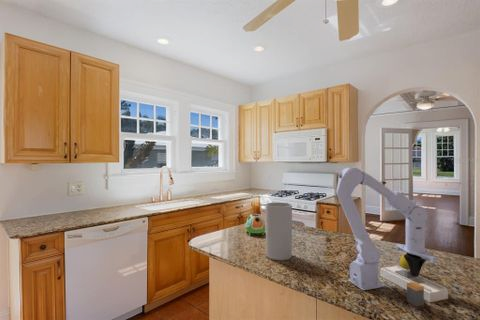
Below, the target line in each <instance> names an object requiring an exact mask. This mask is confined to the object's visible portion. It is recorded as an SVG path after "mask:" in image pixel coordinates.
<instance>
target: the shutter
mask: <svg viewBox="0 0 480 320" xmlns="http://www.w3.org/2000/svg"><path fill="white" fill-rule="evenodd" d="M395 272H396V273H398V274H400V275H402V276H404V277H406V278H408V279H409V278H415V277H414V276H412V275H411V272H410V270H399V271H395ZM416 277H418V276H416Z"/></svg>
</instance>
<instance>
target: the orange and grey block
mask: <svg viewBox="0 0 480 320" xmlns="http://www.w3.org/2000/svg"><path fill="white" fill-rule="evenodd" d="M424 301H425V299H424V286H422V285H420V284H418V283H416V282H410V283H407V290H406V302H408V303H409V304H411V305H412V306H413V307H422V306H425V302H424Z"/></svg>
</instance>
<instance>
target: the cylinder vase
mask: <svg viewBox="0 0 480 320" xmlns="http://www.w3.org/2000/svg"><path fill="white" fill-rule="evenodd" d="M265 255H266V258H269V259H270V260H274V261H287V260H290V259H291V258H292V256H293V204H292V203H290V202H289V203H288V202H277V201H276V202H275V201H274V202H267V203H265Z"/></svg>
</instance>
